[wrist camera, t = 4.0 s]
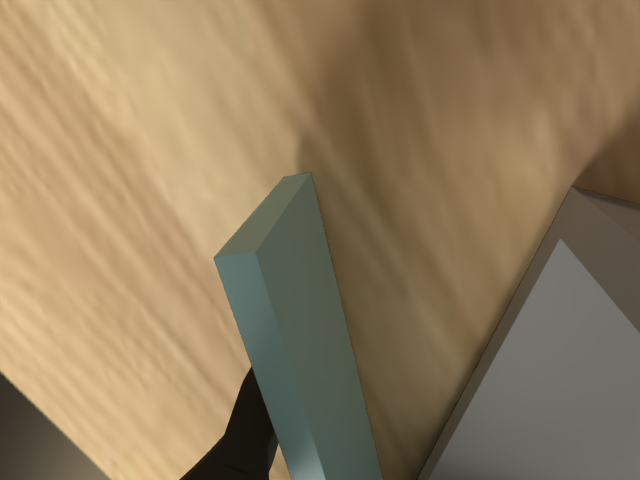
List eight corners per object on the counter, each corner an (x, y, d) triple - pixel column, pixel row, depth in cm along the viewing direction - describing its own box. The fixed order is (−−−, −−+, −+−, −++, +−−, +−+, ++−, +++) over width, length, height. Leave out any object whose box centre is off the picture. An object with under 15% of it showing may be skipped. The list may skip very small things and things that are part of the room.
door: (393, 523, 18) (391, 694, 13) (349, 522, 18) (331, 687, 13) (311, 171, 12) (254, 253, 7) (248, 182, 12) (158, 266, 8)
